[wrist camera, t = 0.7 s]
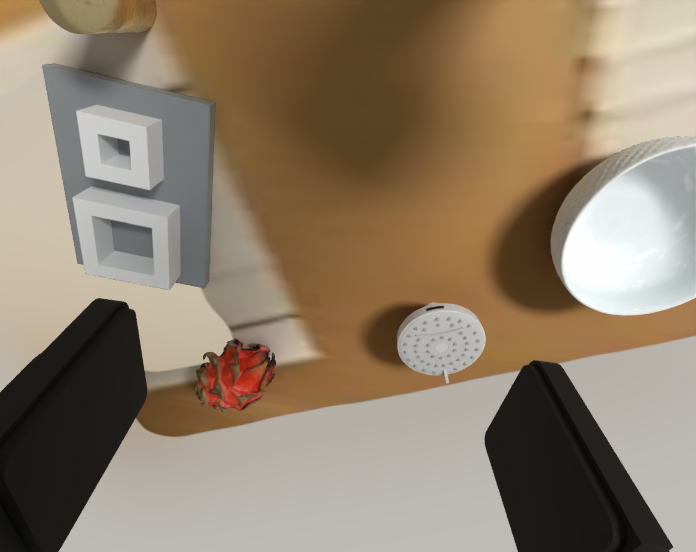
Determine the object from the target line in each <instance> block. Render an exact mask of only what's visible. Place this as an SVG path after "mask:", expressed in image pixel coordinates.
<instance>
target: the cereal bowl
mask: <svg viewBox="0 0 696 552" xmlns="http://www.w3.org/2000/svg"><path fill="white" fill-rule="evenodd" d="M551 255H552V260H553V263H554V267H555V269H556V271H557V274H558V275H559V277H560V280H561V281H562V282H563V284H564V286H565V287H566V289H567V290H568V291H569V292H570V294H571V295H572V296H573V297H574V298H575V299H577V300H578V301H579V302H580V303H582V304H584V305H585V306H587V307H589V308H591V309H594V310H596V311H599V312H602V313H607V314H613V315H641V314H648V313H653V312H658V311H662V310H665V309H669V308H672V307H675V306H677V305H680V304H683V303H685V302H687V301H690V300H692V299H694V298H696V137H691V136H685V137H681V136H677V137H667V138H663V139H655V140H652V141H646V142H644V143H640V144H638V145H634V146H632V147H630V148H627V149H625V150H622V151H621V152H619V153H616V154H614V155H613V156H611V157H609V158H607V159H606V160H604V161H603V162H602V163H600V164H599V165H597V166H596V167H594V168H593V169H592V170H591V171H590V172H588V173H587V174H586V175H585V176H584V177H583V178H582V179H581V180H580V181H579V182H578V183H577V184H576V185H575V186H574V188H573V189H572V190H571V192H570V193H569V194H568V195H567V197H566V198H565V200H564V202H563V203H562V205H561V207H560V209H559V211H558V214H557V215H556V219H555V222H554V224H553V229H552V232H551Z"/></svg>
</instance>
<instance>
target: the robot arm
mask: <svg viewBox="0 0 696 552" xmlns="http://www.w3.org/2000/svg"><path fill="white" fill-rule="evenodd" d="M146 395H147V384H146V378H145V371H144V365H143V358H142V352H141V346H140V339H139V332H138V326H137V319H136V313H135V311H134V310H132V309H129V307H128V305H127V303H126V302H122V301H115V300H108V299H101V298H98V299H95V300H94V301H93V302H92V303H91V304H90V305H89V306H88V307H87V308H86V309H85V310H84V311H83V312H82V313H81V314H80V315H79V316H78V317H77V318H76V319H75V320H74V321H73V322H72V323H71V324H70V325H69V326H68V327H67V328H66V329H65V330H64V331H63V332H62V333H61V334H60V335H59V336H58V337H57V338H56V339H55V340H54V341H53V342H52V343H51V344H50V345H49V346H48V347H47V348H46V349H45V350H44V351H43V352H42V353H41V354H39V355H38V356H37V357H35V358H34V359H33V360H32V361H31V362H30V363H29V364H28V365H27V366H26V367H25V368H24V369H23V370H22V371H21V372H20V373H19V374H18V375H17V376H16V377H15V378H14V379H13V380H12V381H11V382H10V383H9V384H8V385H7V386H6V387H5V388H4V389H3V390H2V391H1V392H0V552H58V551H59V550H60V548H61V547H62V545H63V543H64V541H65V540H66V538H67V536H68V535H69V533H70V531H71V529H72V528H73V526H74V524H75V522H76V521H77V519H78V517H79V515H80V514H81V512H82V510H83V508H84V506H85V505H86V503H87V502H88V500H89V498H90V496H91V494H92V493H93V491H94V489H95V488H96V486H97V484H98V482H99V481H100V479H101V477H102V475H103V474H104V472H105V470H106V468H107V467H108V465H109V463H110V461H111V460H112V458H113V456H114V455H115V453H116V451H117V449H118V448H119V446H120V444H121V442H122V440H123V439H124V437H125V435H126V434H127V432H128V430H129V428H130V427H131V425H132V423H133V422H134V420H135V418H136V416H137V415H138V413H139V411H140V409H141V408H142V406H143V404H144V402H145V399H146ZM485 447H486V450H487V454H488V457H489V460H490V463H491V466H492V470H493V473H494V476H495V479H496V482H497V486H498V489H499V492H500V495H501V498H502V502H503V505H504V508H505V511H506V514H507V518H508V521H509V524H510V527H511V531H512V534H513V537H514V540H515V543H516V546H517V550H518V552H669V550H670V549H671V548H673V546H672V544H671V543H670V541H669V539H668V538H667V536H666V534H665V533H664V532H663V530H662V528H661V526H660V525H659V523H658V522H657V520H656V518H655V517H654V515H653V514H652V512H651V510H650V508H649V507H648V505H647V504H646V502H645V500H644V499H643V497H642V496H641V494H640V492H639V491H638V489H637V487H636V486H635V484H634V483H633V481H632V479H631V478H630V476H629V474H628V473H627V471H626V470H625V468H624V466H623V465H622V463H621V462H620V460H619V458H618V457H617V455H616V453H615V452H614V450H613V449H612V447H611V445H610V444H609V442H608V440H607V439H606V437H605V436H604V434H603V432H602V431H601V429H600V427H599V426H598V424H597V423H596V421H595V420H594V418H593V416H592V415H591V413H590V411H589V410H588V408H587V406H586V405H585V403H584V402H583V400H582V398H581V397H580V395H579V394H578V392H577V390H576V389H575V387H574V385H573V384H572V382H571V380H570V379H569V377H568V376H567V374H566V372H565V371H564V369H563V368H562V367H561V365H559V364H557V363H551V362H543V361H532V362H530V364H529V365H525V366H523V368H522V369H521V371H520V373H519V374H518V376H517V378H516V380H515V382H514V383H513V385H512V387H511V389H510V390H509V392H508V394H507V396H506V398H505V399H504V401H503V403H502V405H501V406H500V408H499V410H498V412H497V413H496V415H495V417H494V419H493V421H492V422H491V424H490V426H489V428H488V430H487V431H486V434H485Z"/></svg>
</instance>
